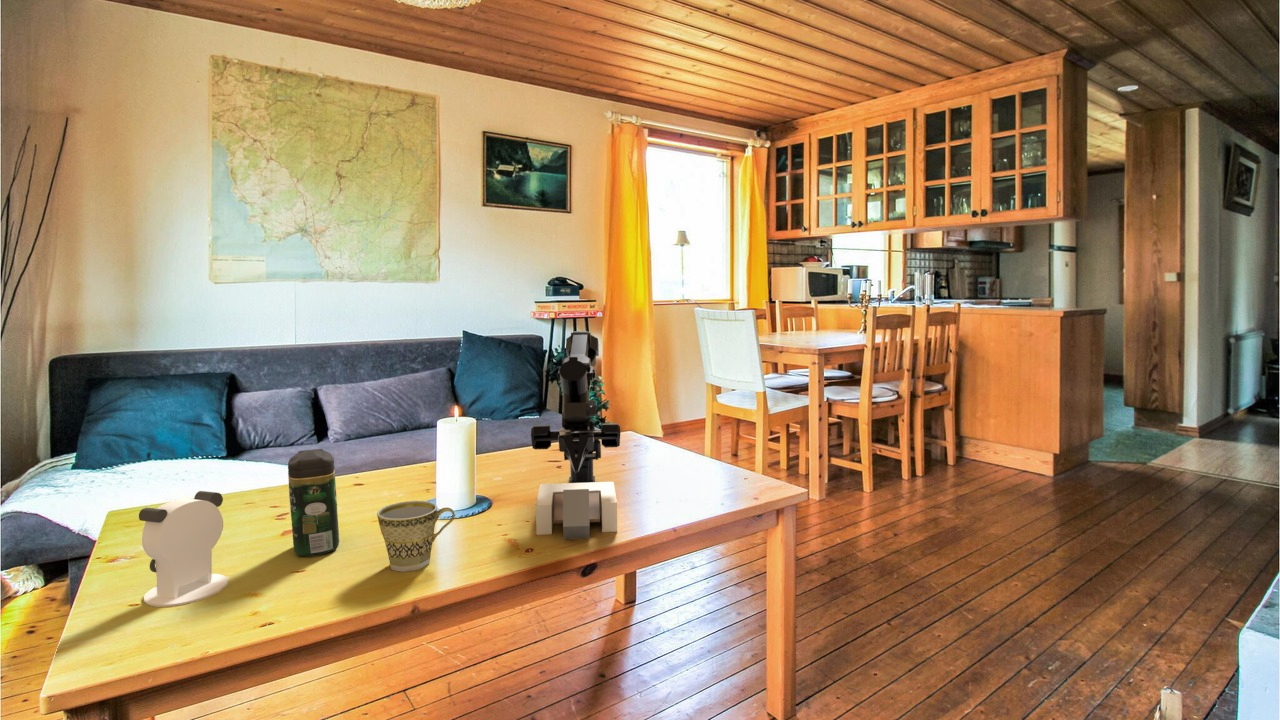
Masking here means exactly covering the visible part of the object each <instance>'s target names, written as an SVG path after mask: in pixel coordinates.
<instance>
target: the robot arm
mask: <svg viewBox="0 0 1280 720" xmlns="http://www.w3.org/2000/svg"><path fill="white" fill-rule="evenodd" d="M565 341H566V343H565V344H566V346H565V347H566V348H565V353H566V357H565V358H564V359H563V362H562V363H561V364H562V365H560V366H559V369H558V372H557V379H558V382H560V387H561V392H562V414H561V427H562V428H560V429H558V431H556V430H555V431H552V430H551V425H550V424H541V425H539V424H537V425H533V426H532V427H531V430H530V439H531V446H532V447H531V448H532V449H533V450H536V451H537V450H548V449H549V448H550V447H552V442H558V451H559V452H561V453H563V459H564V461H569V463H570V465H569V466H570V468H569V469H570V471H569V472H570V476H569V477H568V483H589V482H596V476H595V475H594V460H596V461H598V460H599V459H601V458H602V448H601V446H602V447H604V448H605V449H606V448H618V447H620V445H621V426H620V425H619V424H618V422H617V423H616V422H615V423H614V422H613V423H612V422H611V423H608V422H607V423H601V429H595V427H596V426H595V425H594V423H593V421H592V420H591V418H590V417H597V401H596V400H595V399H590V398H591V383H592V382H594V381H595V378H596V377H597V370H595V366H596V365H597V357H599V355H600V354H599V352H600V351H599V346H600V344H599V338H598V337H596V336H594V335H592V334H591V332H590V331H588V330H580V331H578V330H576V331H575V330H574V331H571V332H570V336H568V337H567V338H566V339H565Z"/></svg>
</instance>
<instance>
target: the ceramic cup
mask: <svg viewBox="0 0 1280 720" xmlns="http://www.w3.org/2000/svg"><path fill="white" fill-rule="evenodd" d="M446 512H450V513H451V515H452V516H451V519H449V521H447V522H446V523H445V524H444V525H443V526H441V528H439V530H438V532H435V525H436V523H437V521H438V520H439V517H440V516H441V515H442V514H443V513H446ZM376 517H377V521H378V525H379V528H380V531H381V535H382V538H383V540H384V543H385V547H386V552H387V556H388V561H389V565H390V569H391V570H392V571H396V572H400V573H401V572H402V573H405V572H406V573H407V572H411V571H412V572H413V571H418V570H421V569H423V568H424V567H426V566H428V565H429V564H430V563H431V554H432V549H433V543H434V542H435V540H436V538H437V537H438V536H439V535H440V534H441V533H442V531H444V529H445V528H447V527H448V525H449V526H450V524H451V523H452V522H453V521H454V519H455V511H454V510H453V509H452V508H451V507H441V508H440V509H438V505H437V504H436V503H434V502H431V501H426V500H410V501H409V500H407V501H401V502H395V503H392V504H388V505H385V506H383V507H382V508H380V509H379V510H378V511H377V513H376Z"/></svg>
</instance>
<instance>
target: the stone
mask: <svg viewBox="0 0 1280 720" xmlns="http://www.w3.org/2000/svg"><path fill="white" fill-rule="evenodd" d="M590 523H591V522H590V521H589V489H573V490H563V523H562V531H563V539H564V540H577V539H578V540H580V539H583V540H584V539H590V537H591V535H590V532H591V531H590V529H591V527H590Z"/></svg>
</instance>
